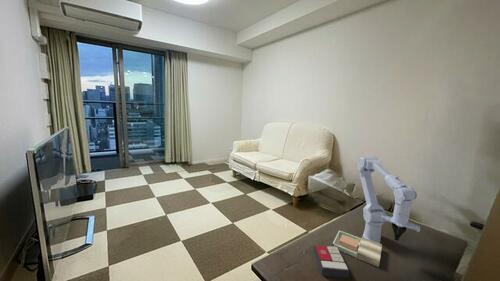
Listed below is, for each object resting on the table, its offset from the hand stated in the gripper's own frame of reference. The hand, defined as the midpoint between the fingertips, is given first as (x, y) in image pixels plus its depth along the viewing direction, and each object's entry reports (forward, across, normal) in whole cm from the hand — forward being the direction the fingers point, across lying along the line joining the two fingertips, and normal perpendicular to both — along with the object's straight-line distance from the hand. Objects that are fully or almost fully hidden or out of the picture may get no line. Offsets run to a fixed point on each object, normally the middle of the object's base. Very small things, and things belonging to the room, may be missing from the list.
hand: (396, 239), depth 95 cm
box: (+9, -20, -5) cm, 22 cm away
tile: (+9, -19, -5) cm, 21 cm away
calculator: (+10, -23, -23) cm, 34 cm away
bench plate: (+9, -10, -5) cm, 14 cm away
